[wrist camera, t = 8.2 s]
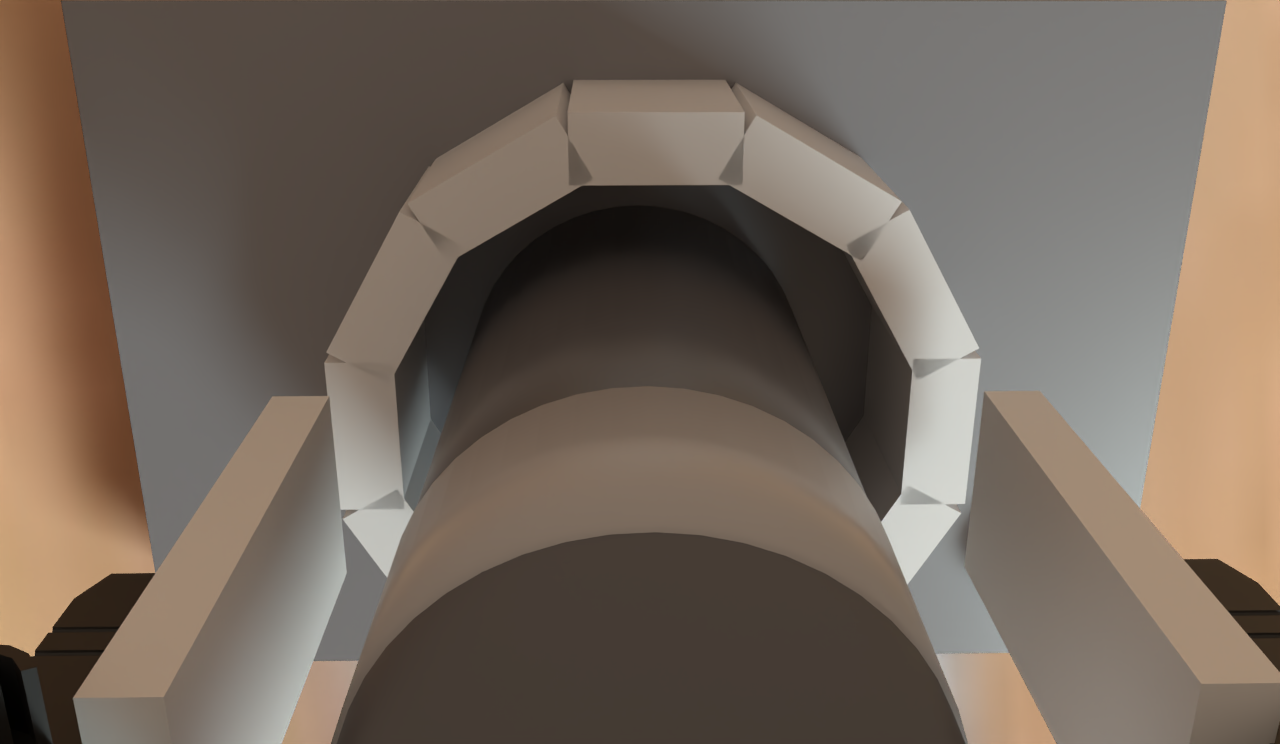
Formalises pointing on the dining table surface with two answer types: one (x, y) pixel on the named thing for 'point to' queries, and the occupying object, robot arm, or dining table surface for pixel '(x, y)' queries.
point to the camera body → (647, 176)
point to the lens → (644, 523)
